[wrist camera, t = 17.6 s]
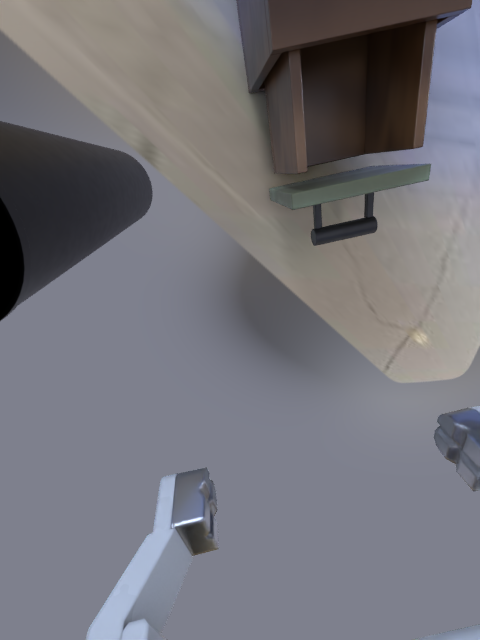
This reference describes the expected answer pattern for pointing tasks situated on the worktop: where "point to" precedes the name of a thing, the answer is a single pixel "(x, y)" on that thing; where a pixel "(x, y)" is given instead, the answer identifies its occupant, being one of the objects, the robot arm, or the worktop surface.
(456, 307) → the worktop surface
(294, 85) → the drawer
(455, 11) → the storage box
